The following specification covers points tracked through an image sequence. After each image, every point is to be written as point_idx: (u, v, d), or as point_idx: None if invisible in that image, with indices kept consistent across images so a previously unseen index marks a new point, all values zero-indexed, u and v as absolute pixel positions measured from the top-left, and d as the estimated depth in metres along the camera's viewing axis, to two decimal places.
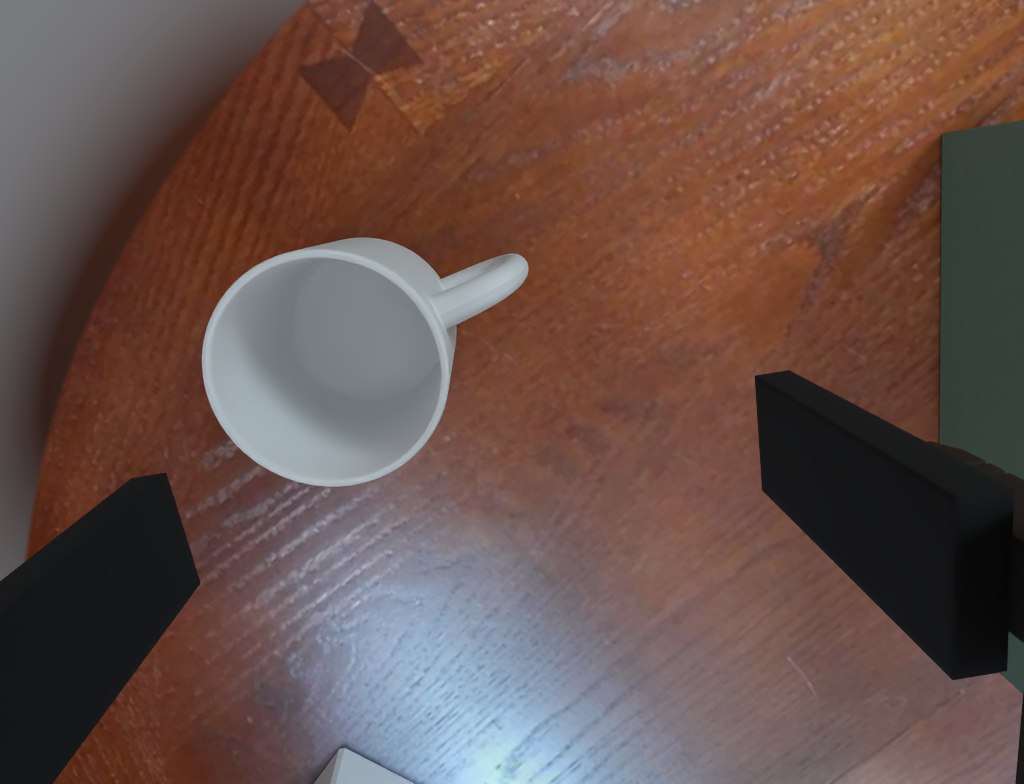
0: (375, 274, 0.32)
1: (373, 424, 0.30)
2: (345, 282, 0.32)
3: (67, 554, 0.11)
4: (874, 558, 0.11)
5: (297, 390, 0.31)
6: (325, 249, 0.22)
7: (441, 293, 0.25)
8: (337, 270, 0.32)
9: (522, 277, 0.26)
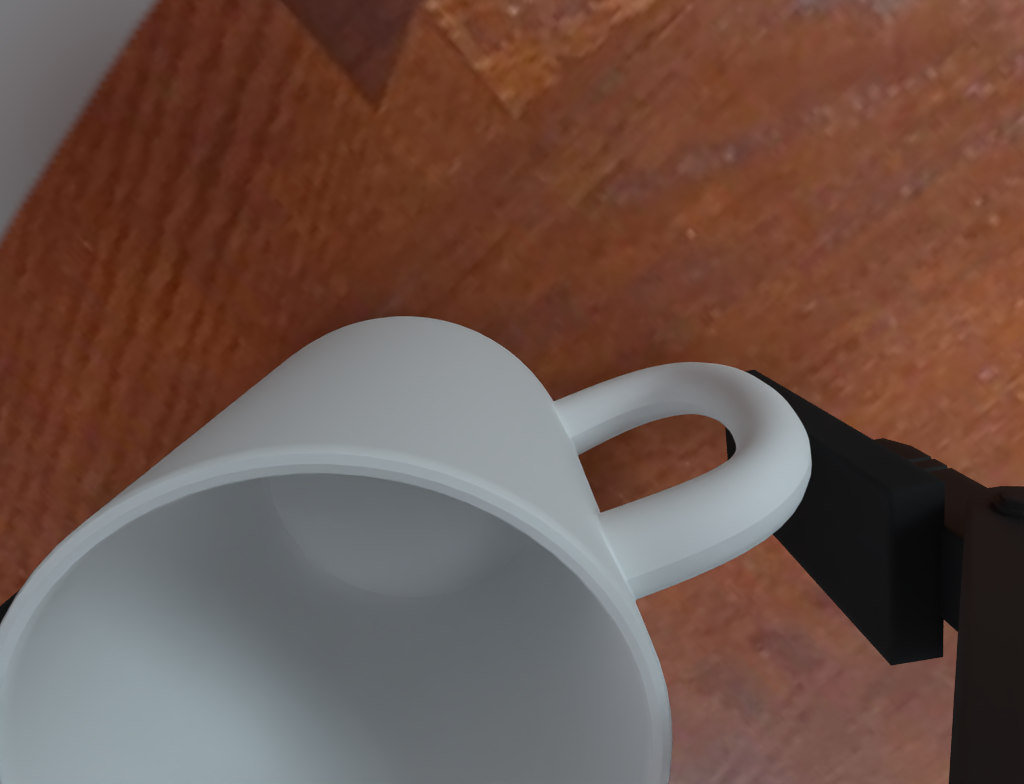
0: None
1: (424, 689, 0.15)
2: None
3: None
4: (824, 550, 0.11)
5: (275, 616, 0.16)
6: (330, 449, 0.07)
7: (629, 516, 0.10)
8: None
9: None
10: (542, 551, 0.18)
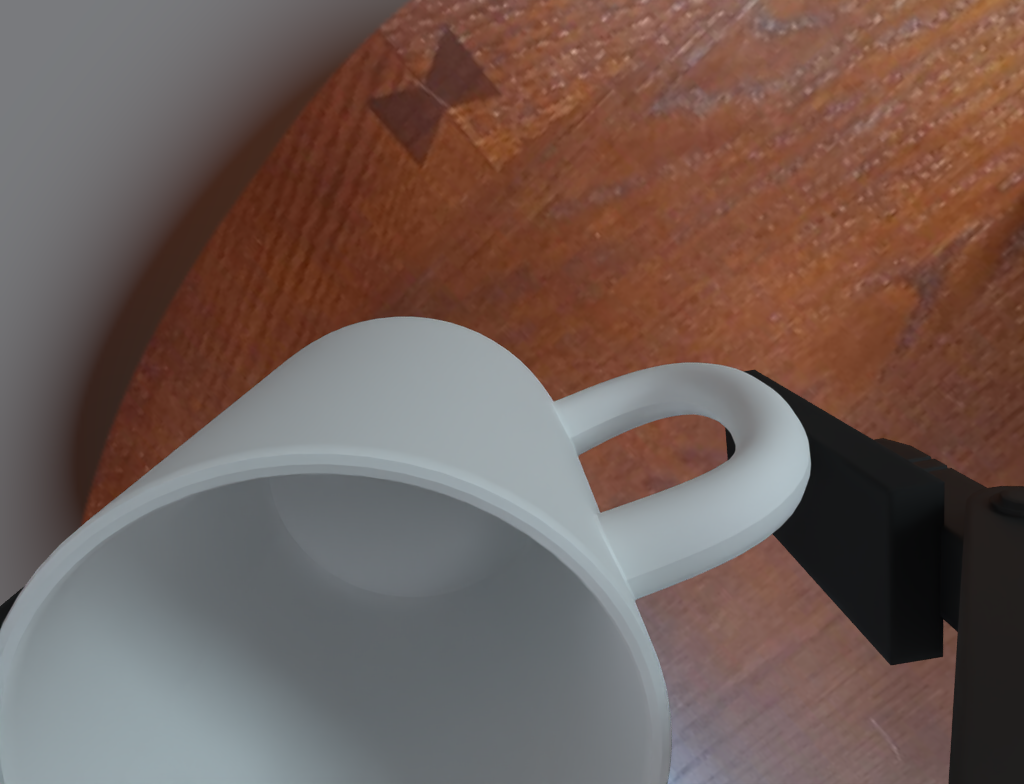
0: None
1: (424, 689, 0.15)
2: None
3: None
4: (825, 550, 0.11)
5: (275, 616, 0.16)
6: (331, 449, 0.07)
7: (628, 516, 0.10)
8: None
9: None
10: (542, 551, 0.18)
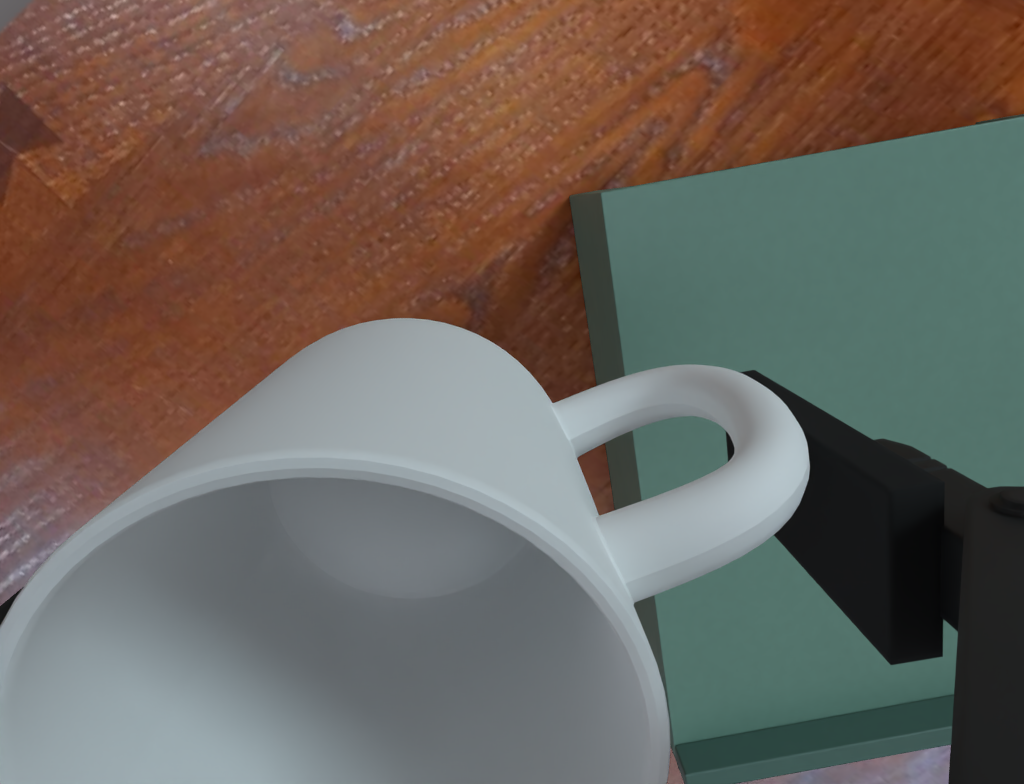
0: None
1: (423, 691, 0.15)
2: None
3: None
4: (824, 550, 0.11)
5: (274, 618, 0.16)
6: (329, 453, 0.07)
7: (627, 519, 0.10)
8: None
9: None
10: (541, 553, 0.18)
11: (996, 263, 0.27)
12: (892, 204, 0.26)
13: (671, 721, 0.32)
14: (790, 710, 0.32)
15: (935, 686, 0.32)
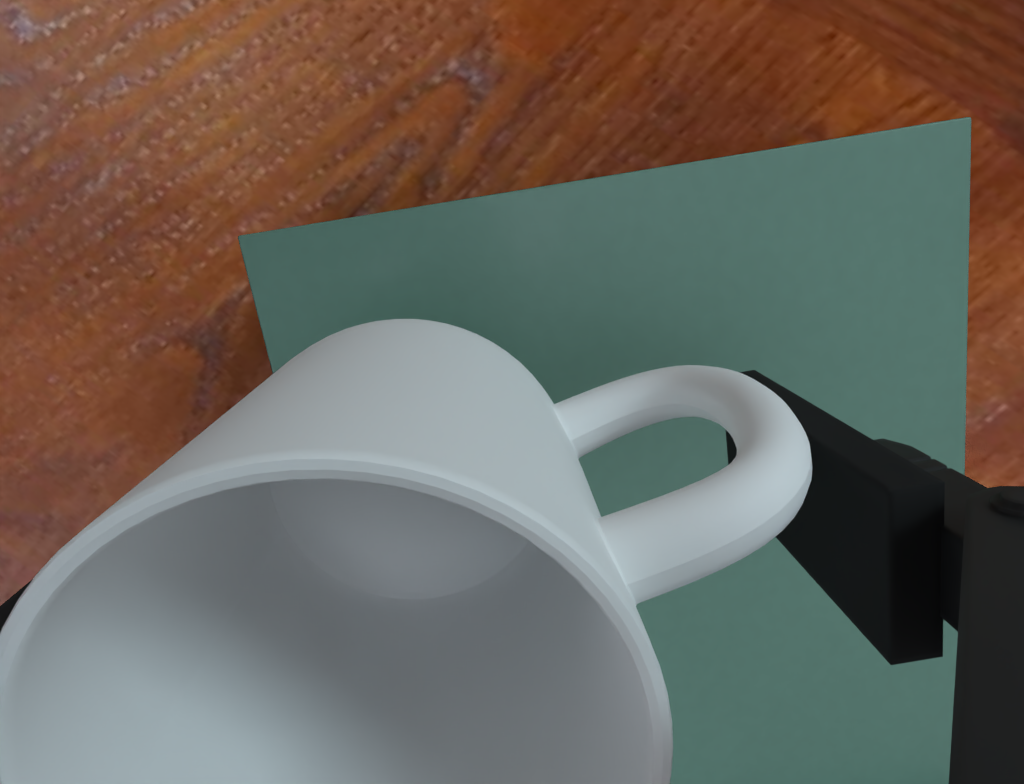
0: None
1: (424, 692, 0.15)
2: None
3: None
4: (824, 550, 0.11)
5: (275, 619, 0.16)
6: (332, 454, 0.07)
7: (630, 520, 0.10)
8: None
9: None
10: (542, 553, 0.18)
11: (748, 328, 0.22)
12: (611, 255, 0.21)
13: None
14: None
15: None
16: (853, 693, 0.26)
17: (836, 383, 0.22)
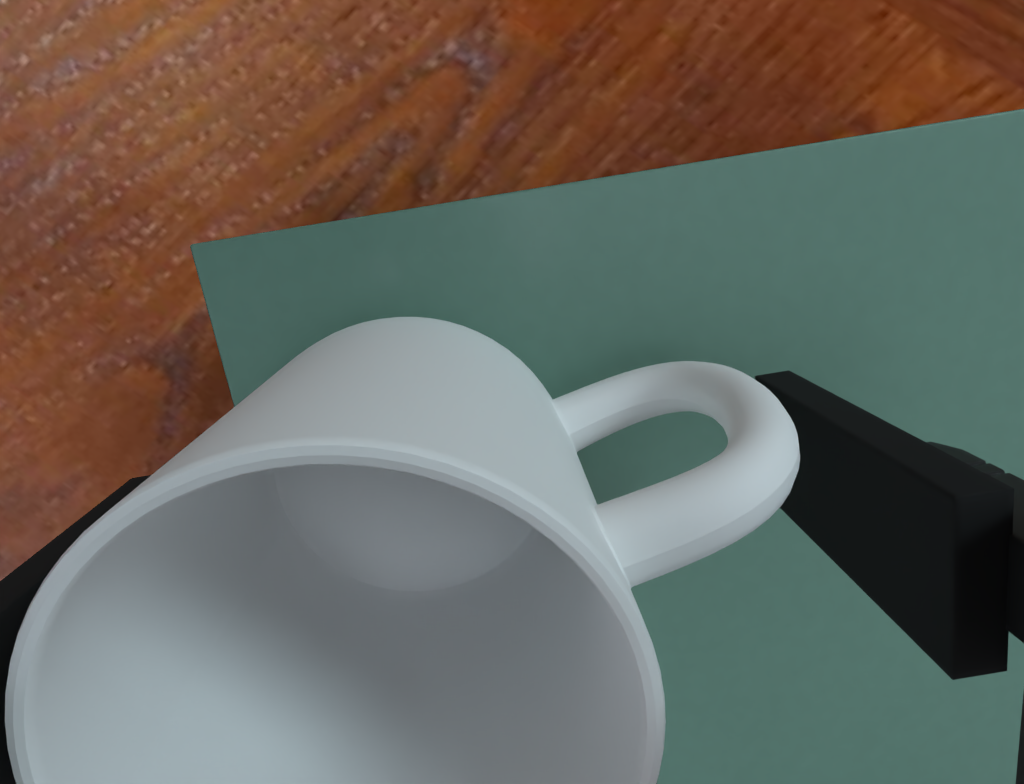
0: None
1: (426, 679, 0.16)
2: None
3: None
4: (875, 558, 0.11)
5: (281, 608, 0.16)
6: (341, 441, 0.08)
7: (624, 507, 0.10)
8: None
9: (798, 451, 0.11)
10: (542, 546, 0.18)
11: (802, 354, 0.18)
12: (639, 268, 0.17)
13: None
14: None
15: None
16: (915, 773, 0.22)
17: (904, 419, 0.19)
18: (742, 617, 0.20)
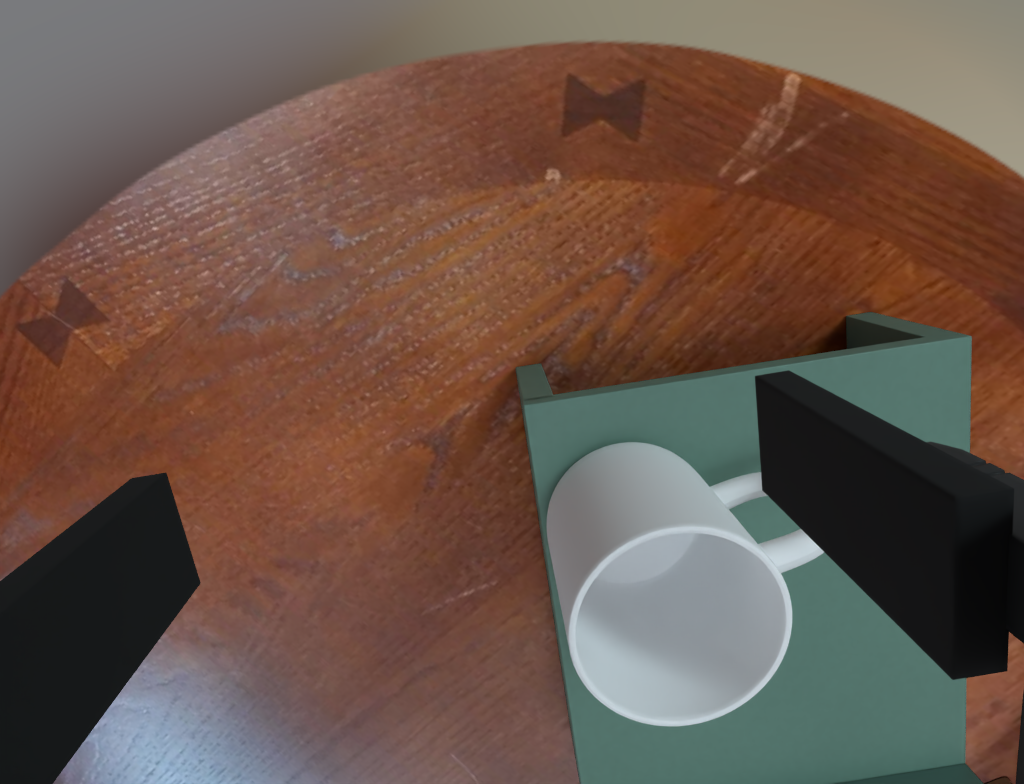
0: None
1: (648, 624, 0.32)
2: None
3: (67, 554, 0.11)
4: (875, 558, 0.11)
5: None
6: (694, 525, 0.24)
7: (772, 545, 0.26)
8: None
9: None
10: (695, 559, 0.34)
11: None
12: (748, 416, 0.34)
13: None
14: None
15: (799, 780, 0.39)
16: (894, 693, 0.38)
17: None
18: (797, 600, 0.37)
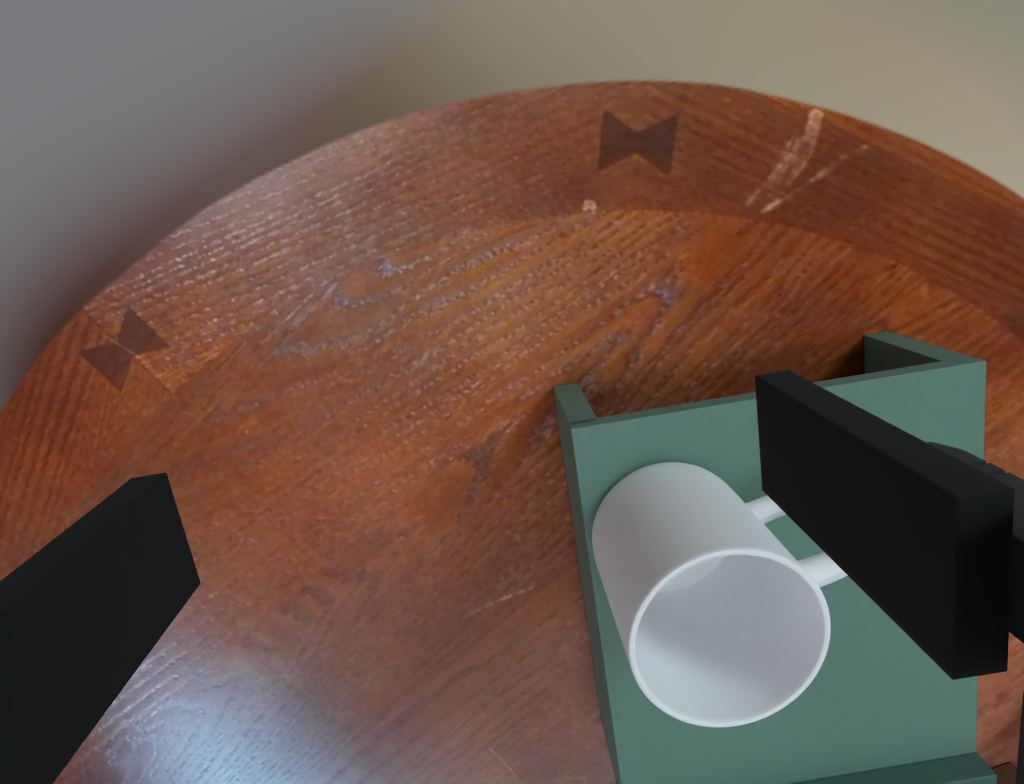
0: None
1: (689, 631, 0.35)
2: None
3: (67, 554, 0.11)
4: (874, 558, 0.11)
5: None
6: (743, 548, 0.27)
7: (810, 562, 0.29)
8: None
9: None
10: (730, 569, 0.37)
11: None
12: None
13: None
14: None
15: (822, 769, 0.42)
16: (911, 689, 0.41)
17: None
18: None
